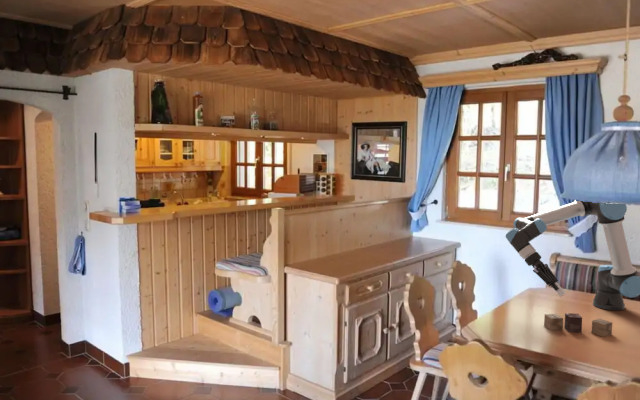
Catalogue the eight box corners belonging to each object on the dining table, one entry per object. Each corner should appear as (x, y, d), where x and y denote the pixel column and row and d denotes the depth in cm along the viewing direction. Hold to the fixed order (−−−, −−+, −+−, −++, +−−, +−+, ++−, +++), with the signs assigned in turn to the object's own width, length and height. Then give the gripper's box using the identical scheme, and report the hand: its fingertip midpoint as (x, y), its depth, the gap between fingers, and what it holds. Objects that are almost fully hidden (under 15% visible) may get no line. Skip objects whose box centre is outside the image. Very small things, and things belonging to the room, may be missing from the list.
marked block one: (599, 330, 235) (599, 318, 235) (611, 334, 230) (612, 321, 229) (591, 332, 232) (592, 320, 232) (603, 337, 227) (604, 324, 226)
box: (581, 332, 232) (582, 317, 232) (568, 332, 233) (569, 317, 233) (577, 328, 238) (578, 313, 237) (564, 327, 239) (564, 312, 238)
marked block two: (555, 325, 241) (556, 313, 241) (562, 330, 235) (563, 317, 235) (544, 326, 241) (544, 313, 240) (550, 330, 235) (551, 318, 234)
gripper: (530, 257, 255) (562, 296, 244) (519, 262, 246) (551, 302, 235) (541, 249, 250) (574, 288, 240) (530, 253, 241) (564, 293, 231)
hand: (563, 295), depth 238 cm, fingers closed
